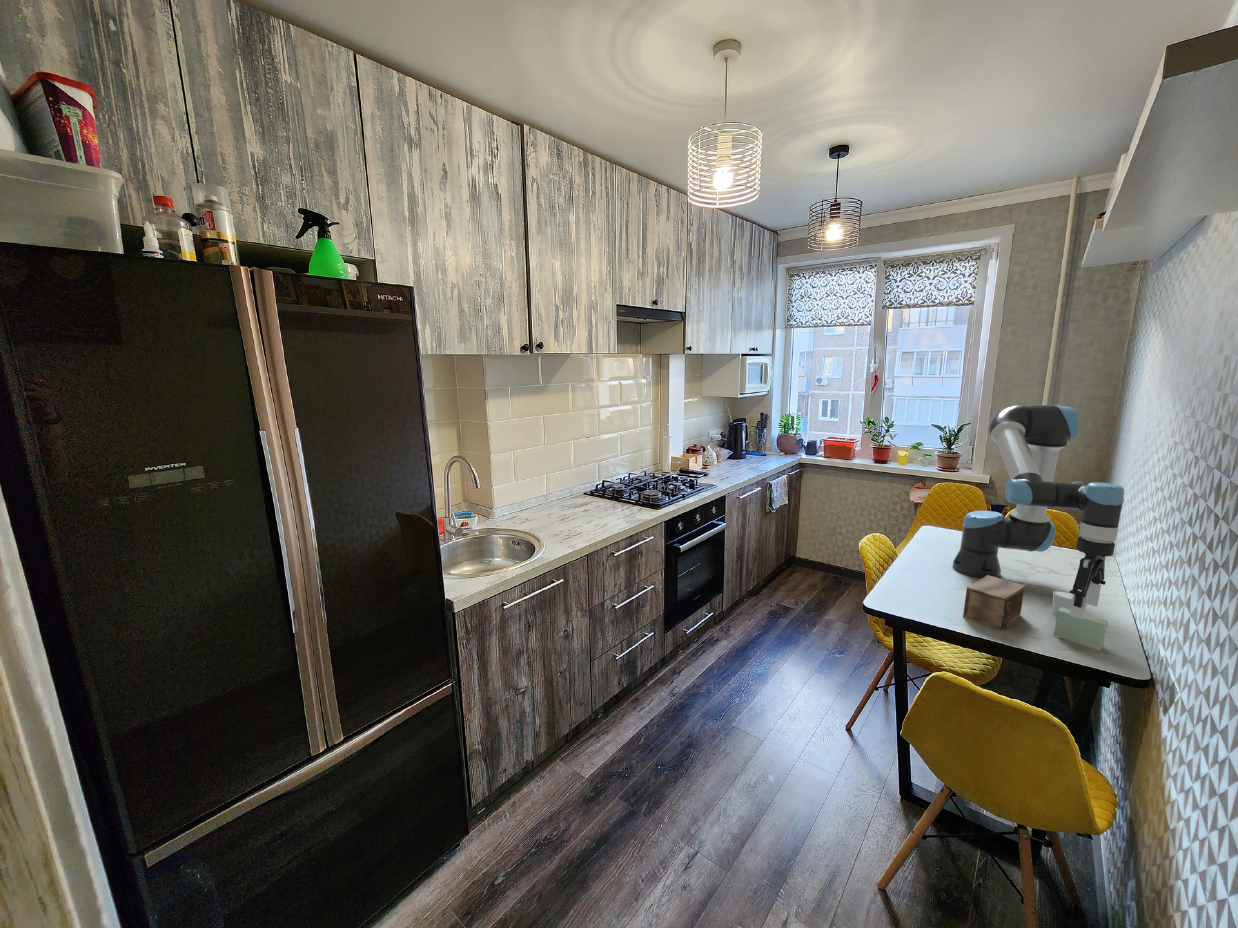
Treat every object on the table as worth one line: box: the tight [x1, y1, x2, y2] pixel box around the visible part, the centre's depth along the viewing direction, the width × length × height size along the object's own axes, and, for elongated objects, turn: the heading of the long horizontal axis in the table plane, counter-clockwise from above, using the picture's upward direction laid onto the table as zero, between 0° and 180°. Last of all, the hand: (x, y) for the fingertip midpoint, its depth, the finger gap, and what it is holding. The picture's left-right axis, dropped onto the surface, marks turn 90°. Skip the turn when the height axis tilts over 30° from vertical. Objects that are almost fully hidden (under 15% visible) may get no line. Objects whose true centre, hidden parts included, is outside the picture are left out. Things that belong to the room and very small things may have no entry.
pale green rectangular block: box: [1053, 607, 1109, 651], centre depth 142 cm, size 4×10×8 cm, turn 35°
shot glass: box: [1052, 590, 1073, 617], centre depth 157 cm, size 7×7×7 cm
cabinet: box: [962, 575, 1026, 631], centre depth 156 cm, size 11×16×10 cm
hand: (1083, 610), depth 141 cm, fingers open, 13 cm apart
